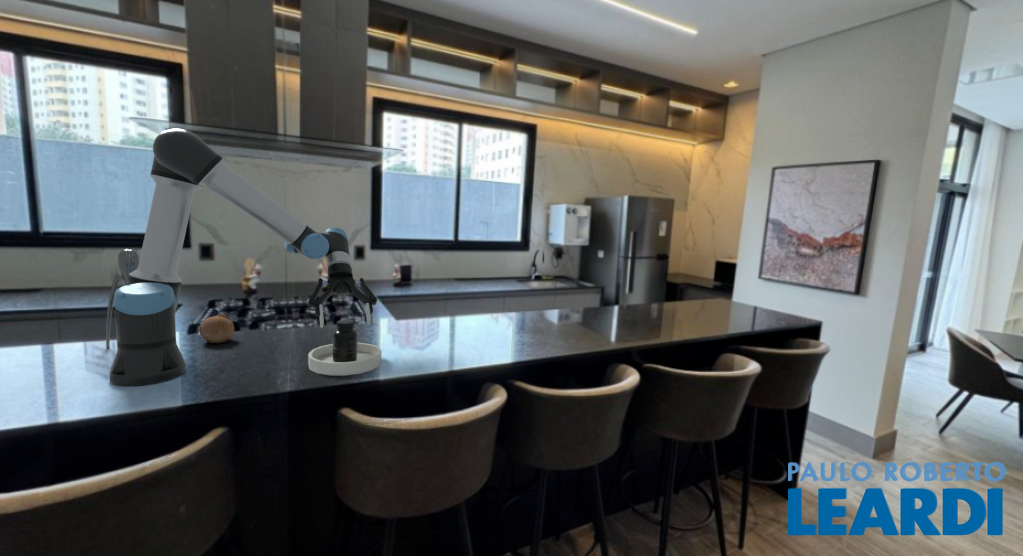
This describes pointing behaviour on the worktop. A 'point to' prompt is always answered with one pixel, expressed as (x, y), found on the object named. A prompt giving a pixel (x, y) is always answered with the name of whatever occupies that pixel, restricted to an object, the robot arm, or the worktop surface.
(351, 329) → the supplement bottle
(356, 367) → the round tray
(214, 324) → the onion
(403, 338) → the worktop surface
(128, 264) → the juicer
